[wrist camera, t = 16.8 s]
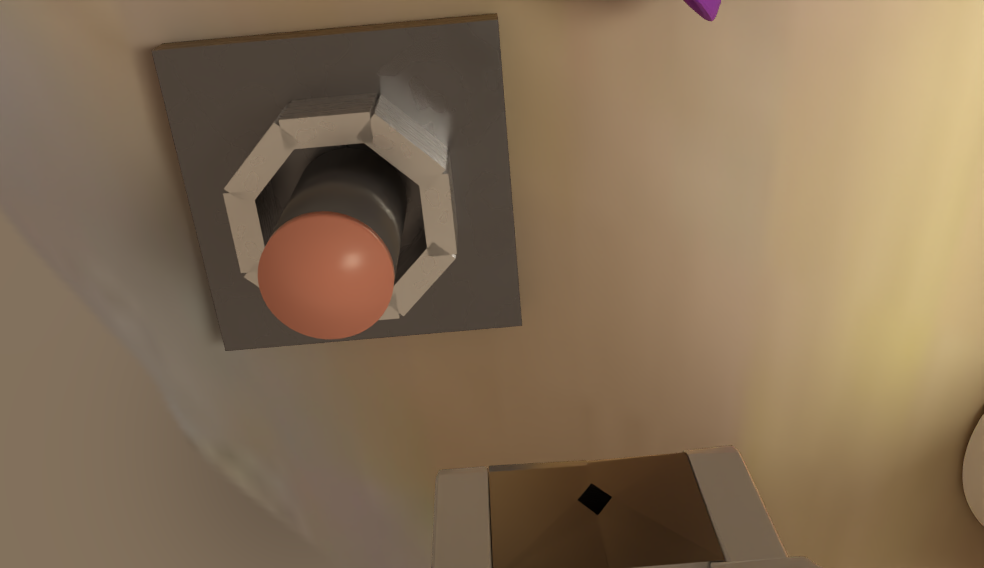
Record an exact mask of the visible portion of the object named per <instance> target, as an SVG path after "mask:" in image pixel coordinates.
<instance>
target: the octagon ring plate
mask: <svg viewBox="0 0 984 568" xmlns="http://www.w3.org/2000/svg"><path fill="white" fill-rule="evenodd" d="M152 55H153V59H154V63H155V67H156V71H157V75H158V79H159V83H160V87H161V91H162V95H163V99H164V103H165V107H166V111H167V115H168V119H169V124H170V128H171V132H172V136H173V140H174V144H175V148H176V152H177V156H178V160H179V164H180V168H181V172H182V176H183V180H184V184H185V188H186V192H187V196H188V201H189V205H190V209H191V213H192V217H193V221H194V225H195V229H196V233H197V237H198V241H199V245H200V249H201V253H202V257H203V261H204V265H205V269H206V273H207V278H208V282H209V286H210V290H211V294H212V298H213V302H214V306H215V310H216V314H217V318H218V322H219V326H220V330H221V334H222V338H223V342H224V346H225V351H232V350H244V349H255V348H267V347H279V346H290V345H302V344H314V343H325V342H337V341H349V340H360V339H372V338H384V337H395V336H407V335H419V334H431V333H442V332H454V331H466V330H477V329H489V328H501V327H512V326H522V319H521V307H520V294H519V281H518V268H517V256H516V243H515V230H514V217H513V204H512V192H511V179H510V166H509V153H508V140H507V128H506V115H505V102H504V89H503V76H502V64H501V51H500V38H499V25H498V17H497V13H496V14H485V15H474V16H463V17H452V18H441V19H429V20H418V21H407V22H396V23H385V24H374V25H363V26H352V27H341V28H330V29H319V30H308V31H297V32H285V33H274V34H263V35H252V36H241V37H230V38H219V39H208V40H197V41H186V42H175V43H164V44H161V45H160V46H158V47H157V48H155V49H154V50H152ZM343 148H355V149H361V150H365V151H368V152H371V153H373V154H375V155H377V156H379V157H381V158H382V159H384V160H385V161H386V162H387V163H389V164H390V165H391V166H392V167H393V168H394V170H395V171H396V172H397V174H398V175H399V177H400V178H401V180H402V183H403V185H404V188H405V191H406V197H407V209H406V216H405V222H404V228H403V234H402V239H401V245H400V251H399V257H398V263H397V269H396V275H395V281H394V287H393V293H392V297H391V300H390V303H389V305H388V307H387V309H386V310H385V312H384V314H383V315H382V316H381V317H380V319H379V320H378V321H377V322H376V323H374V324H373V325H372V326H371V327H369V328H368V329H366V330H365V331H363V332H361V333H359V334H356V335H353V336H351V337H346V338H341V339H319V338H314V337H310V336H306V335H304V334H301V333H299V332H296V331H294V330H292V329H291V328H289V327H288V326H286V325H285V324H283V323H282V322H281V321H280V320H279V319H278V318H277V317H276V316H275V315H274V314H273V313H272V312H271V311H270V309H269V308H268V307H267V305H266V303H265V301H264V300H263V297H262V295H261V292H260V288H259V284H258V265H259V260H260V257H261V254H262V252H263V250H264V248H265V246H266V244H267V242H268V240H269V238H270V236H271V234H272V232H273V230H274V228H275V226H276V224H277V223H278V221H279V219H280V217H281V215H282V213H283V211H284V209H285V207H286V205H287V203H288V201H289V199H290V197H291V195H292V193H293V191H294V189H295V187H296V185H297V183H298V181H299V179H300V177H301V176H302V174H303V172H304V170H305V169H306V168H307V166H308V165H309V164H310V163H311V162H312V161H313V160H315V159H316V158H317V157H319V156H321V155H322V154H324V153H327V152H329V151H332V150H336V149H343Z"/></svg>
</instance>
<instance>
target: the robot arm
mask: <svg viewBox="0 0 984 568" xmlns="http://www.w3.org/2000/svg"><path fill="white" fill-rule="evenodd" d="M962 477H963V488H964V493H965V497H966V500H967V503H968V505H969V507H970V509H971V511H972V513H973V514H974V516H975V517H976V518H977V520H978V521H979V522H980V523H981V524H982V525H983V526H984V414H983V415H982V417H981V418H980V420H979V422H978V424H977V425H976V427H975V429H974V431H973V433H972V435H971V438H970V440H969V443H968V446H967V449H966V453H965V457H964V463H963V474H962ZM431 568H822V567H821V566H819V565H818V564H816V563H814V562H813V561H811V560H810V559H808V558H807V557H805V556H797V557H788V554H787V552H786V550H785V548H784V546H783V544H782V542H781V539H780V537H779V535H778V533H777V531H776V529H775V527H774V524H773V522H772V520H771V518H770V516H769V514H768V512H767V509H766V507H765V505H764V503H763V501H762V499H761V497H760V494H759V492H758V490H757V488H756V486H755V484H754V482H753V479H752V477H751V475H750V473H749V471H748V469H747V467H746V464H745V462H744V460H743V458H742V456H741V454H740V452H739V450H738V449H736V448H735V447H734V446H732V445H729V446H720V447H711V448H702V449H693V450H684V451H683V452H682V453H670V454H658V455H647V456H635V457H624V458H612V459H601V460H589V461H586V460H578V461H562V462H546V463H529V464H513V465H497V466H489V470H488V468H487V467H472V468H459V469H445V470H439V472H438V474H437V477H436V484H435V504H434V525H433V546H432V566H431Z"/></svg>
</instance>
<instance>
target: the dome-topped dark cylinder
mask: <svg viewBox="0 0 984 568" xmlns="http://www.w3.org/2000/svg"><path fill="white" fill-rule="evenodd" d="M406 209H407V197H406V191H405V188H404V185H403V183H402V180H401V178H400V177H399V175H398V174H397V172H396V171H395V170H394V168H393V167H392V166H391V165H390V164H389V163H387V162H386V161H385V160H384V159H382V158H381V157H379V156H377V155H375V154H373V153H371V152H368V151H365V150H361V149H355V148H343V149H336V150H332V151H329V152H327V153H324V154H322V155H321V156H319V157H317V158H316V159H315V160H313V161H312V162H311V163H310V164H309V165H308V166H307V168H306V169H305V170H304V172H303V174H302V176H301V177H300V179H299V181H298V183H297V185H296V187H295V189H294V191H293V193H292V195H291V197H290V199H289V201H288V203H287V205H286V207H285V209H284V211H283V213H282V215H281V217H280V219H279V221H278V223H277V224H276V226H275V228H274V230H273V232H272V234H271V236H270V238H269V240H268V242H267V244H266V246H265V248H264V250H263V252H262V254H261V257H260V260H259V265H258V284H259V288H260V292H261V295H262V297H263V300H264V301H265V303H266V305H267V307H268V308H269V309H270V311H271V312H272V313H273V314H274V315H275V316H276V317H277V318H278V319H279V320H280V321H281V322H282V323H283V324H285V325H286V326H288V327H289V328H291V329H292V330H294V331H296V332H299V333H301V334H304V335H306V336H310V337H314V338H319V339H341V338H346V337H351V336H353V335H356V334H359V333H361V332H363V331H365V330H366V329H368V328H369V327H371V326H372V325H373V324H374V323H376V322H377V321H378V320H379V319H380V317H381V316H382V315H383V314H384V312H385V310H386V309H387V307H388V305H389V303H390V300H391V297H392V293H393V287H394V281H395V275H396V269H397V263H398V257H399V251H400V245H401V239H402V234H403V228H404V222H405V216H406Z"/></svg>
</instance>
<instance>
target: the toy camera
mask: <svg viewBox="0 0 984 568" xmlns="http://www.w3.org/2000/svg"><path fill="white" fill-rule="evenodd" d="M684 1H685V2H686V3H687V4H688V5H689V6H690V7H691V8H692V9H693V10H694V11H695V12H696V13H698V14H699V15H700V16H701V17H703V18H704V19H706V20H708V21H713V20H714V19H715V17H716V15H717V12H718V9H719V6H720V3H721V0H684Z"/></svg>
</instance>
